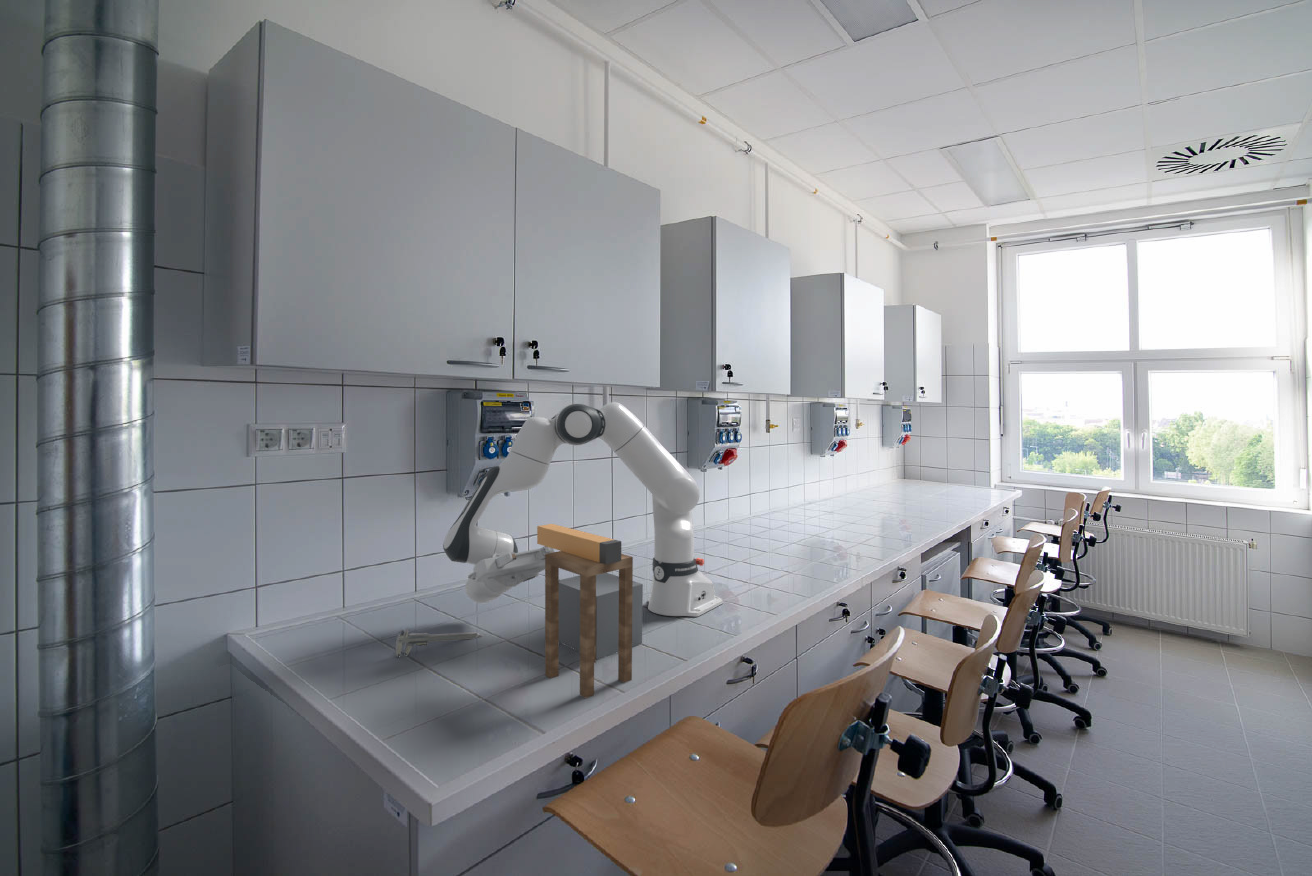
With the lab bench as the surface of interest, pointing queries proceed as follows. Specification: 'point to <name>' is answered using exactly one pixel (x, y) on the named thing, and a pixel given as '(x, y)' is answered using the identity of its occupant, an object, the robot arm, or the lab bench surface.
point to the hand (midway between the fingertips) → (530, 552)
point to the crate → (598, 613)
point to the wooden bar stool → (587, 614)
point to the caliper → (428, 639)
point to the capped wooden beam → (579, 543)
